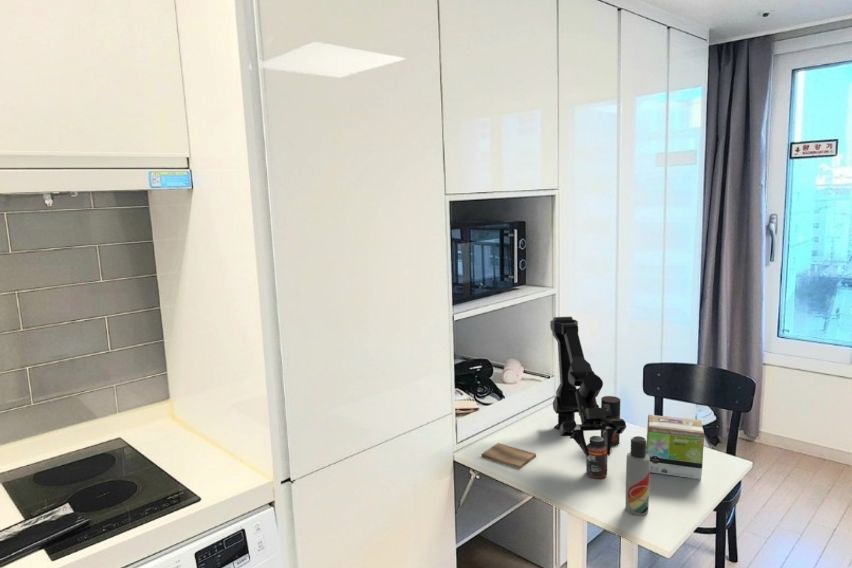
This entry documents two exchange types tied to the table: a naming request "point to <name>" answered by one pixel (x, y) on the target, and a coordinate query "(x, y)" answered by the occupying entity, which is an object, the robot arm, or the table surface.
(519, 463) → the walnut board
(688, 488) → the table surface
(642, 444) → the lotion bottle
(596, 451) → the supplement bottle
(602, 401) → the deodorant
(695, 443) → the tea box
